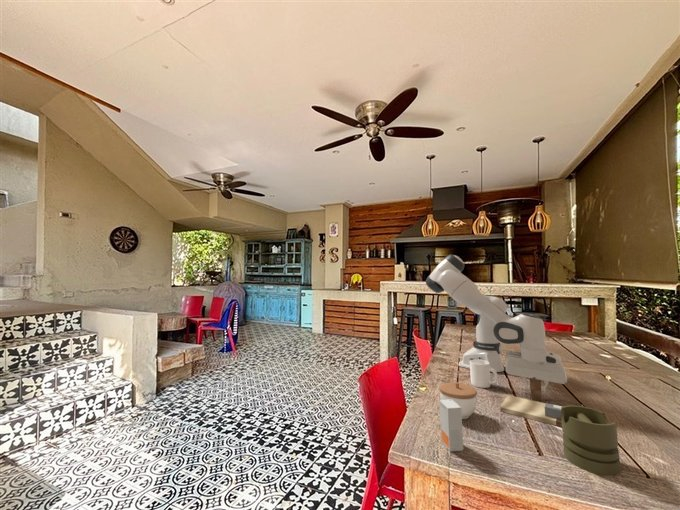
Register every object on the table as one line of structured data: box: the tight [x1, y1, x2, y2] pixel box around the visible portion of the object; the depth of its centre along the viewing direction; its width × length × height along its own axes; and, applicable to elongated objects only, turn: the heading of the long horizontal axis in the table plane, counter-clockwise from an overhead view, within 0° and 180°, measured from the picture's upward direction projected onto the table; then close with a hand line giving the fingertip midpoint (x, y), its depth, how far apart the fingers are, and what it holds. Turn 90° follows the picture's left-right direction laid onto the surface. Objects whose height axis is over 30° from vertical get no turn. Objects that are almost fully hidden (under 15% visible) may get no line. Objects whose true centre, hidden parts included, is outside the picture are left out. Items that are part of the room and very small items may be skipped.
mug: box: [469, 359, 499, 389], centre depth 130 cm, size 12×8×10 cm
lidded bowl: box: [438, 381, 478, 420], centre depth 104 cm, size 13×13×11 cm
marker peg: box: [529, 377, 543, 403], centre depth 114 cm, size 4×4×10 cm
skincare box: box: [438, 399, 464, 453], centre depth 85 cm, size 6×4×12 cm
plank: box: [499, 395, 562, 428], centre depth 103 cm, size 24×14×2 cm, turn 49°
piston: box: [561, 405, 621, 477], centre depth 77 cm, size 11×12×11 cm
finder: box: [545, 402, 563, 420], centre depth 98 cm, size 6×4×3 cm, turn 49°
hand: (535, 390), depth 114 cm, fingers closed on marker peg, 4 cm apart
